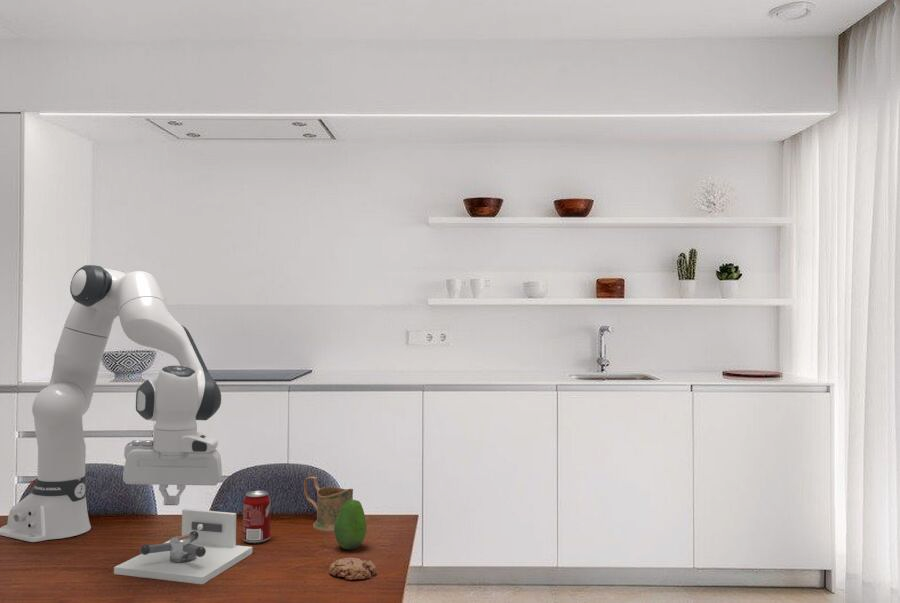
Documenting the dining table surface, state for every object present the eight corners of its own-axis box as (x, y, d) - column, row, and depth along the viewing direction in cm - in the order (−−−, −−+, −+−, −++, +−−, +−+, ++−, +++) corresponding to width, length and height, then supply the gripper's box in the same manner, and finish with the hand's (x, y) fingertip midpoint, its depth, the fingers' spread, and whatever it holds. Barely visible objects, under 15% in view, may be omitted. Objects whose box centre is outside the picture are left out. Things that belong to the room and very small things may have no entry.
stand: (113, 574, 161) (114, 530, 161) (172, 544, 181) (173, 506, 181) (202, 584, 155) (203, 539, 156) (252, 553, 176) (253, 513, 176)
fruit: (326, 548, 180) (327, 499, 180) (351, 541, 186) (352, 494, 186) (347, 556, 175) (348, 505, 175) (372, 548, 181) (373, 499, 181)
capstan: (174, 576, 155) (174, 553, 155) (137, 563, 162) (138, 541, 162) (230, 557, 167) (231, 535, 167) (194, 546, 175) (194, 525, 175)
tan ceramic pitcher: (319, 513, 211) (320, 472, 211) (364, 524, 201) (365, 480, 201) (289, 522, 202) (289, 479, 202) (334, 534, 191) (335, 488, 192)
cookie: (331, 566, 168) (331, 553, 168) (377, 567, 168) (378, 554, 168) (325, 582, 158) (325, 568, 158) (374, 583, 158) (374, 569, 158)
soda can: (262, 545, 181) (263, 497, 182) (237, 543, 183) (238, 495, 183) (274, 537, 188) (275, 490, 188) (250, 535, 189) (250, 489, 190)
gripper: (120, 442, 155) (116, 507, 155) (219, 444, 158) (216, 509, 157) (129, 437, 161) (126, 500, 161) (224, 439, 164) (221, 501, 163)
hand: (171, 504), depth 159 cm, fingers closed
